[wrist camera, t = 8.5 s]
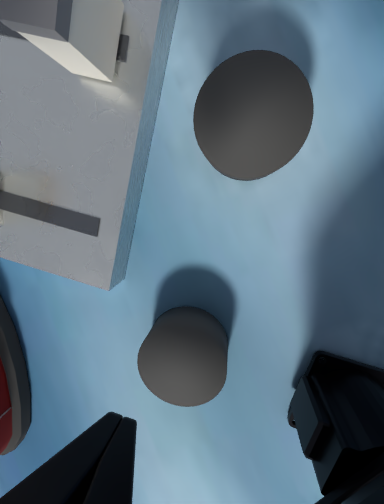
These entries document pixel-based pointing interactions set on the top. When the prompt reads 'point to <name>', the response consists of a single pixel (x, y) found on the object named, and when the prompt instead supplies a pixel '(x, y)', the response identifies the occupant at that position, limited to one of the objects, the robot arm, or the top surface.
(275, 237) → the top surface
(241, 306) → the top surface
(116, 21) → the switch
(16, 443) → the bumper car
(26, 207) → the panel
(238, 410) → the top surface
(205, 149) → the coil
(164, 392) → the coil
